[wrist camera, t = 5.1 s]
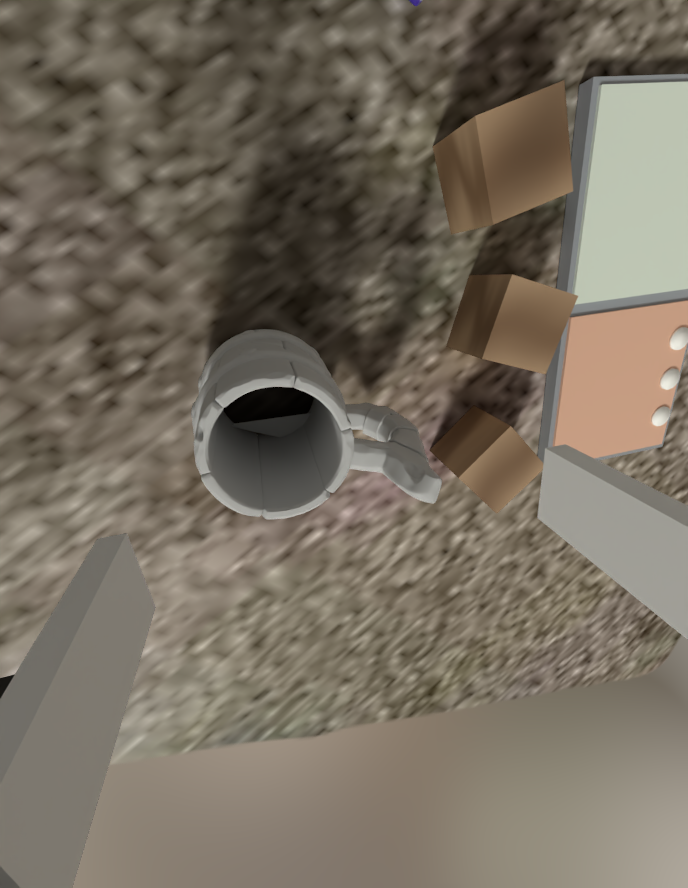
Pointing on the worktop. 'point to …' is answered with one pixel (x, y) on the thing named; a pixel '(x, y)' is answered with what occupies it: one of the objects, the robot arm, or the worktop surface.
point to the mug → (294, 433)
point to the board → (622, 269)
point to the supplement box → (415, 2)
